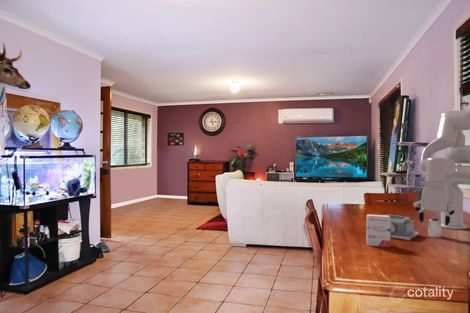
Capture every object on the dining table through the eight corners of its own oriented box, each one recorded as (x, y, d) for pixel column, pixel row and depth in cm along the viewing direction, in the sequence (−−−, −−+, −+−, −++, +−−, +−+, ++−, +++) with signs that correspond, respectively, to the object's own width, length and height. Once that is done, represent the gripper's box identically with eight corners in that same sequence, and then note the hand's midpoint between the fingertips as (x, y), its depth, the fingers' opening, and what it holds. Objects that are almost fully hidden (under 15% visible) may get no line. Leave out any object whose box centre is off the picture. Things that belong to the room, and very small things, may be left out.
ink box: (389, 244, 133) (389, 215, 133) (390, 247, 128) (391, 217, 128) (365, 242, 135) (366, 213, 135) (366, 245, 131) (367, 215, 131)
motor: (380, 228, 162) (380, 212, 162) (418, 234, 151) (418, 217, 151) (368, 234, 150) (369, 216, 150) (408, 240, 139) (408, 222, 139)
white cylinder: (429, 234, 153) (429, 216, 153) (442, 236, 149) (442, 218, 149) (426, 236, 149) (427, 218, 149) (439, 237, 146) (440, 219, 146)
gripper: (411, 183, 152) (410, 221, 152) (456, 186, 141) (455, 227, 140) (415, 183, 158) (414, 219, 157) (459, 186, 146) (458, 225, 146)
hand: (434, 223), depth 149 cm, fingers open, 9 cm apart
